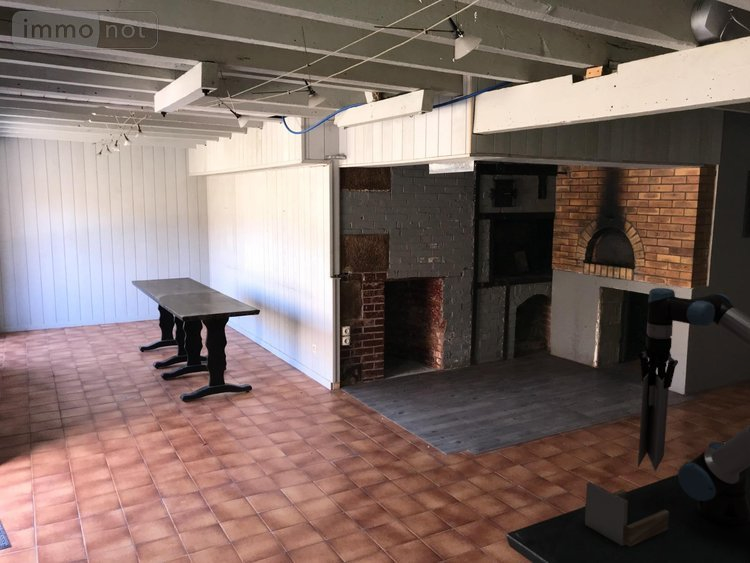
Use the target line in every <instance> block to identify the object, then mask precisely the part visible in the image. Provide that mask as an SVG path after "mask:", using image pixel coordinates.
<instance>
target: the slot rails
mask: <svg viewBox="0 0 750 563" xmlns="http://www.w3.org/2000/svg"><path fill="white" fill-rule="evenodd" d="M613 494H615V495H617V496H619V497H621V498H623V499H625V500H627V490H625V489H623V488H622V489H620V490H617V491H615V492H613ZM584 506H585V507H584V508H585V509H584V517H585V516H586V503H585V505H584ZM669 516H670V512H669V511H668V510H667V509H663V510H661V511H658V512H656V513H654V514H651V515H649V516H647V517H644V518H642V519H640V520H637V521H635V522H632V523H630V524H628V525H627V528H626V545H625V546H626V547H627V546H628V547H629V548H631V547H633V546H635V545H638V544H640V543H641V542H644V541H646V540H649V539H650V538H652V537H653V538H654V537H655V536H657V535H659V534H662V533H664V532H666V531H668V529H669V518H670V517H669Z"/></svg>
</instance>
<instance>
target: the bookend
mask: <svg viewBox="0 0 750 563" xmlns="http://www.w3.org/2000/svg"><path fill="white" fill-rule="evenodd" d="M585 491H586V492H585V493H586V495H585V496H586V497H585V504H586V516H585V515H584V525H585V526H587V527H589V528H590V529H592V530H593V531H595V532H597V533H599V534H601V535H603V536H604V537H606V538H608V539H609V540H611V541H613V542H615V543H616V544H617V545H620V546H621V547H623V546H627V545H626V528H627V526H628V525H627V523H628V508H629V507H628V506H629V501H628V500H627V499H626V500H625V499H623V498H621V497H619V496H617V495H615V494H613V493H614V492H613V493H612V492H611V491H609V490H606V489H604V488H602V487H600V486H599V485H596V483H594V482H593V483H592V482H590V481H589V482H586V490H585Z"/></svg>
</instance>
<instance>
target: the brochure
mask: <svg viewBox="0 0 750 563" xmlns="http://www.w3.org/2000/svg"><path fill="white" fill-rule="evenodd" d="M648 376H649V374H647V375H646V376H645V378H644V379H643V381H642V396H641V412H640V423H639V424H640V425H639V440H638V443H639V444H638V454H637V455H638V458H637V468H639V467H640V465H641V464H642V462H643V460H644V459H645V457H646V456H647V457H648V458H649V461H650V463H651V465H652V467H653V470H654V472H656V471H657V469H658V468H659V465H661V464H660V463H661V462H662V460H663V458H664V457H665V448H666V447H665V446H666V445H665V444H666V431H667V419H668V402H669V389H670V387H669V388H664V379H665V377H664V378H663V380H662V381H661V379H660V378H659V377H658V372H656V376H655V384H654V385H655V388H656V387H658V388H657V394H656V408H655V407H654V405H655V398H654V405H651V406H650V405H648V404H649V394H648Z"/></svg>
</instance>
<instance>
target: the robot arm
mask: <svg viewBox="0 0 750 563" xmlns="http://www.w3.org/2000/svg"><path fill="white" fill-rule="evenodd" d="M675 294H676V293H675V291H674V289H670V288H663V287H658V288H657V287H656V288H652V289H650V290H649V292H648V300H647V320H646V322H647V324H646V338H645V347H646V348H645V351H642V352H641V351H640V352H638V357H639V360H640V370H641V379H642V382H643V379H644V378H645V376H646V375H647V374H649V376H648V394H649V404H648V405H650V406H651V405H654V398H655V405H654V407H655V408H656V394H657V388H658V387H656V388H655V385H654V384H655V376H656V373H657V375H658V377H659V378H660V379H661V381H662V380H663V378H664V377H665V379H664V388H669V389H670V387H672V383H673V380H674V379H673V378H674V375H675V374H674V373H675V370H676V367H677V365H678V364H679V361H678V360H677V359H674V358H673V357H672V353H671V349H672V341H673V338H672V336H673V325H674V324H673V323H674V322H678V323H683V324H689V325H694V326H701V327H702V326H703V327H707V326H709V325H711V323H714V324H715V325H716V326H719V327H720V328H722V330H725V331H726V332H727V333H728V334H730V335H732V337H734V338H736V339H737V340H738V341H739V342H741V343H743V344H744V345H745V346H746V347H748V348H750V316H749V315H747V314H746V313H744V312H742V311H741V310H740V309H738V308H737V307H736V306H734V305H733V302H732V300H731V298H730V296H729V297H728V295H726V294H721V293H714V294H709V295H706V296H700V297H699V296H698V297H695V298H683V297H678V296H676V295H675ZM749 468H750V424H748V425H747V426H745V428H743V429H742V430H740V431H739V432H737V433H736V434H735V435H734V436H732V437H731V438H730V439H728V440H727V441H726V442H722V441H721V442H720V441H712V442H710V443H709V444H708V445H707V449H705V451H703V452H701V453H700V454H699V455H698V456H696V457H695V458H693V459H692V460H690V461H689V462H688V461H687V462H685V463H683V465H681V467H680V468H679V470H678V474H677V476H678V482H679V484H680V487H681V489H683V491H684V493H686V494H687V495H688V496H689V497H690V498H691V499H694V500H697V501H698V502H697V510H698V511H699V513H700V514H701V515H702V516H704V517H705V518H707V519H709V520H711V521H713V522H716V523H719V524H722V525H723V524H724V525H728V526H729V525H730V526H744V525H747V524H749V523H750V504H749V500H748V497H747V491H748V490H747V489H748V481H749V480H748V479H749V470H750V469H749Z"/></svg>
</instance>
